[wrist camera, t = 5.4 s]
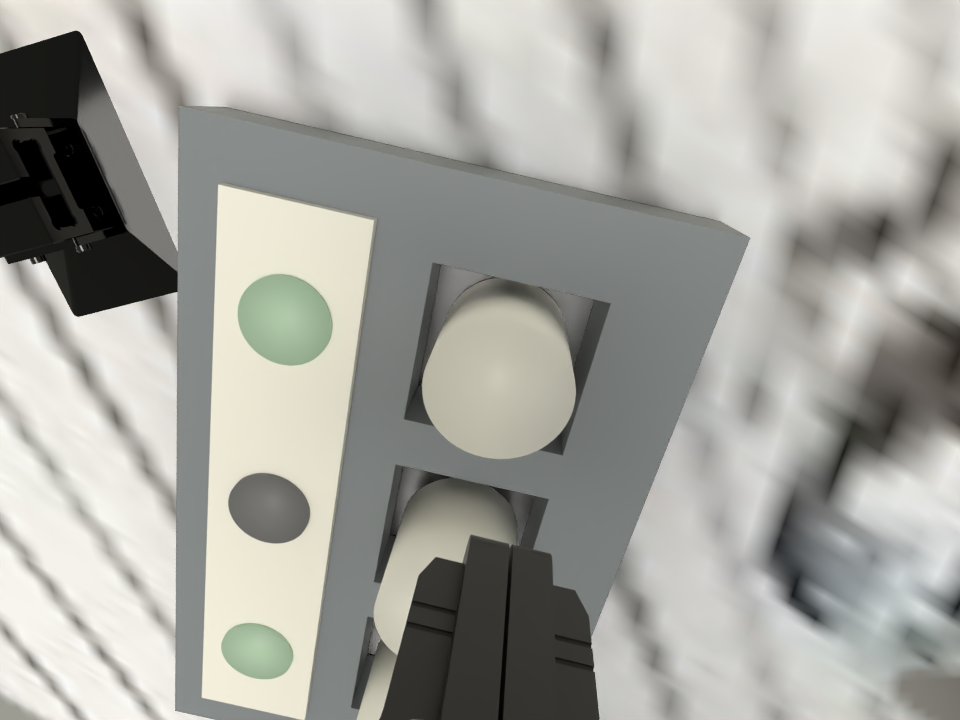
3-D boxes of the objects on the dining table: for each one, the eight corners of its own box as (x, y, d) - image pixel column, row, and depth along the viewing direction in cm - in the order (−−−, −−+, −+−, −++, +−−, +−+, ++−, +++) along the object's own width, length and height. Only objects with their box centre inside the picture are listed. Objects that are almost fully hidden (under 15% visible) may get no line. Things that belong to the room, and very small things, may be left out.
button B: (529, 492, 23) (529, 584, 19) (503, 582, 25) (496, 685, 21) (413, 466, 23) (384, 551, 19) (395, 557, 25) (365, 656, 21)
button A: (487, 634, 27) (478, 743, 22) (466, 704, 28) (454, 818, 24) (384, 611, 27) (353, 715, 22) (370, 683, 28) (339, 792, 24)
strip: (377, 218, 19) (372, 221, 18) (307, 712, 28) (303, 724, 28) (224, 183, 19) (214, 185, 18) (205, 690, 28) (199, 701, 28)
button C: (581, 293, 22) (595, 340, 17) (549, 404, 24) (553, 473, 19) (456, 264, 22) (437, 303, 17) (433, 377, 24) (410, 440, 19)
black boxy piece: (230, 314, 24) (169, 355, 20) (80, 348, 25) (-9, 393, 21) (89, -26, 20) (-28, -64, 16) (-85, 33, 21) (-238, 13, 17)
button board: (720, 221, 21) (750, 238, 18) (530, 731, 32) (530, 789, 29) (225, 107, 21) (178, 105, 18) (206, 658, 32) (175, 710, 29)
